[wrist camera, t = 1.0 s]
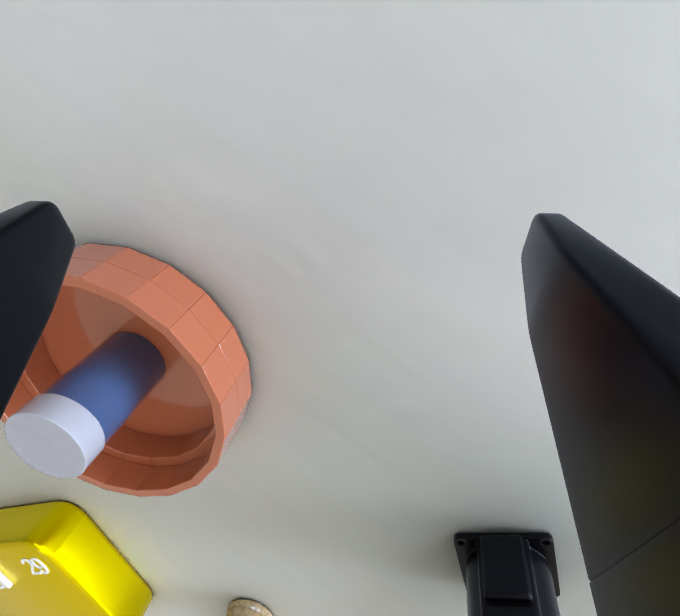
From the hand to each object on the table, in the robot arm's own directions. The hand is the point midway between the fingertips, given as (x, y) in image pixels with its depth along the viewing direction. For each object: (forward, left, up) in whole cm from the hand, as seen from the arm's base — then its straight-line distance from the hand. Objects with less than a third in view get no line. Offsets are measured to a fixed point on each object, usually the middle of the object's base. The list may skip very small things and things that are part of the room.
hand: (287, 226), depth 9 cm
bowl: (-10, +19, -14) cm, 26 cm away
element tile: (-31, +40, -14) cm, 53 cm away
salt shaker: (-10, +19, -14) cm, 26 cm away
